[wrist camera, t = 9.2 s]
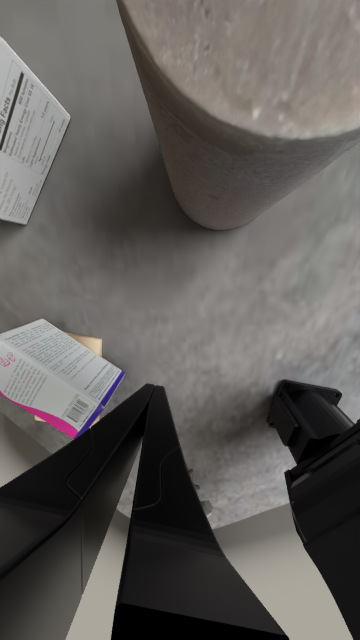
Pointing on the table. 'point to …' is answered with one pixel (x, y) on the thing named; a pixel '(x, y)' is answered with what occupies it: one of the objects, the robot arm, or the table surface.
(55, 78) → the table surface
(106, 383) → the supplement box
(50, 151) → the light bulb box
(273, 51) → the pillar candle
